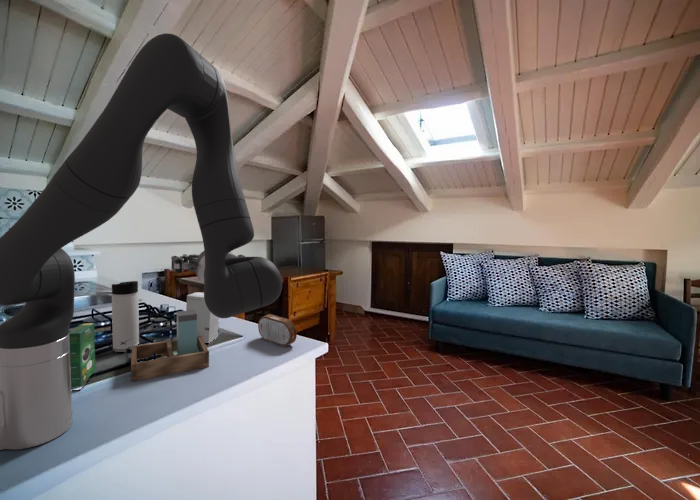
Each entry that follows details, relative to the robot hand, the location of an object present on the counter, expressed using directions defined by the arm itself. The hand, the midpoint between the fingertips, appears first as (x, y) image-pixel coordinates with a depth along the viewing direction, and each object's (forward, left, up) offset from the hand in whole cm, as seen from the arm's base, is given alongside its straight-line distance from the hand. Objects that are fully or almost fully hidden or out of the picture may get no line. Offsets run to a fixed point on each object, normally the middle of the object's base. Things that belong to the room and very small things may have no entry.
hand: (205, 258), depth 74 cm
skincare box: (+4, +30, -30) cm, 43 cm away
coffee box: (-24, +14, -30) cm, 41 cm away
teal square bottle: (-2, +16, -29) cm, 33 cm away
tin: (+24, +18, -30) cm, 43 cm away
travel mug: (-16, +32, -30) cm, 47 cm away
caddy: (-6, +16, -30) cm, 35 cm away
